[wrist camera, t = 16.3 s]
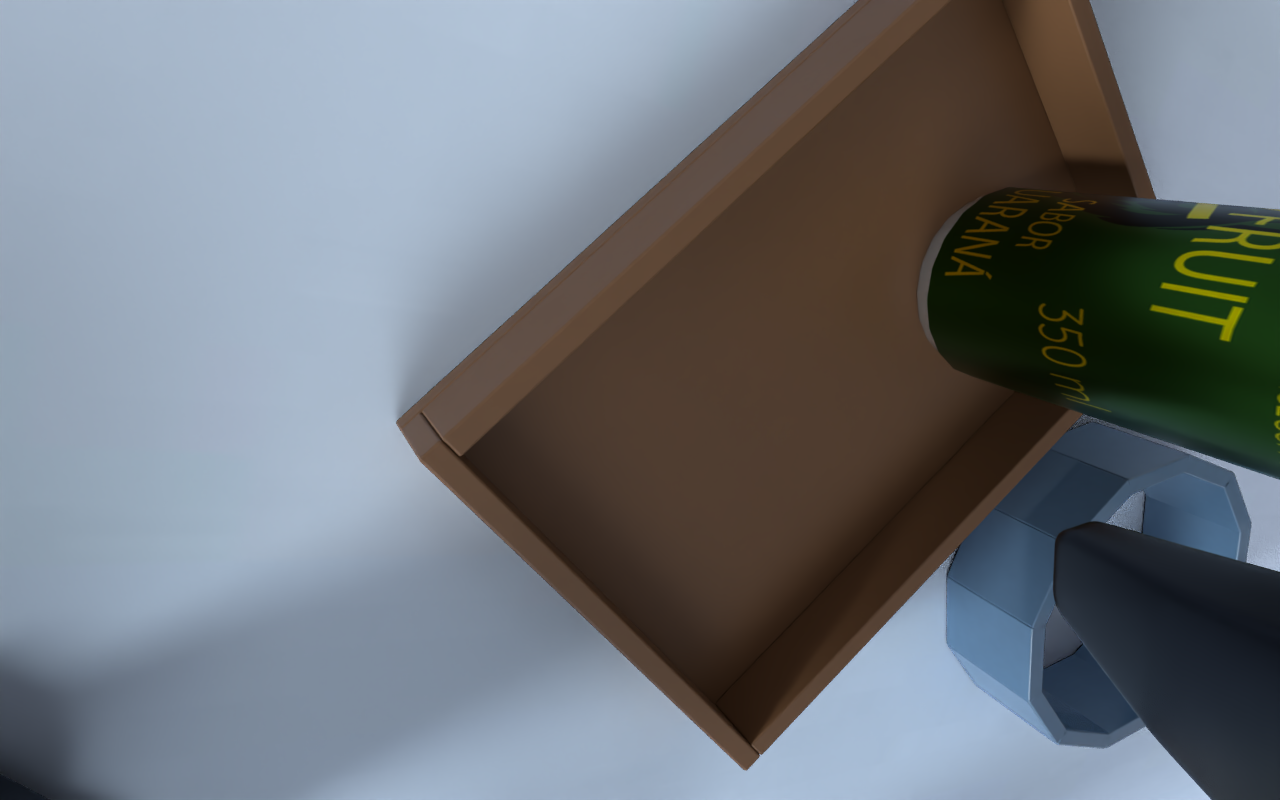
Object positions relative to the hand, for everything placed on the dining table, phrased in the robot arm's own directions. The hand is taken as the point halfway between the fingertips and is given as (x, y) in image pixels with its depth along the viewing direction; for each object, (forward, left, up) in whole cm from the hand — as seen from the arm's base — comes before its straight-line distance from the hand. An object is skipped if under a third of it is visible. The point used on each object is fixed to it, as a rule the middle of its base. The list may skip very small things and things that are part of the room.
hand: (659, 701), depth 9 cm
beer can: (+14, -9, -12) cm, 20 cm away
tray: (+9, -7, -13) cm, 17 cm away
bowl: (+12, -21, -13) cm, 27 cm away
